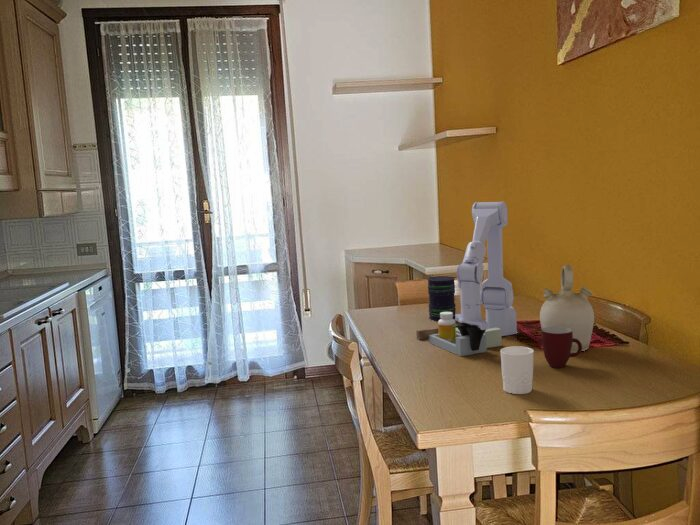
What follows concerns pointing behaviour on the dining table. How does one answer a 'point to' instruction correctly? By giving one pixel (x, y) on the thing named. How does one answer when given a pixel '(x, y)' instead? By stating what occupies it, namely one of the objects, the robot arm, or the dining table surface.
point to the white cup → (517, 369)
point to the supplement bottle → (447, 327)
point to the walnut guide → (427, 332)
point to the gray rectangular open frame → (458, 344)
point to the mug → (558, 345)
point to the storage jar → (441, 296)
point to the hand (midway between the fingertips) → (471, 348)
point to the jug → (569, 310)
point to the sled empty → (491, 337)
